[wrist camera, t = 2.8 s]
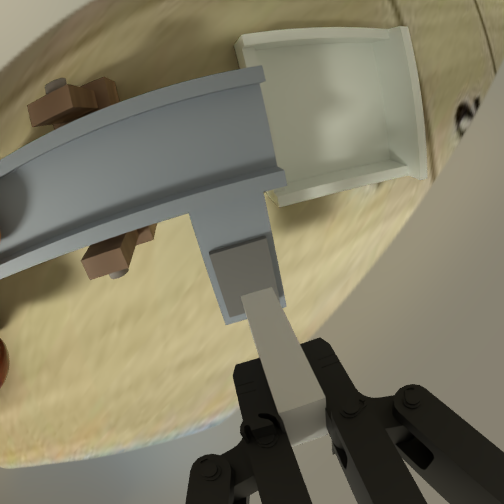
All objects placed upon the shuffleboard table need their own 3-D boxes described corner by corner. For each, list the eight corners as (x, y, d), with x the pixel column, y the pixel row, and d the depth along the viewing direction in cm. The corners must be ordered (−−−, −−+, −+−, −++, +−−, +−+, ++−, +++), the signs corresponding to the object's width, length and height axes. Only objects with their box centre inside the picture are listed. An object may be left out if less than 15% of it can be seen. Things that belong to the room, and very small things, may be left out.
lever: (43, 360, 19) (33, 387, 16) (-45, 194, 12) (-71, 209, 9) (296, 293, 20) (312, 320, 18) (252, 71, 14) (266, 62, 11)
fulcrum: (37, 268, 21) (0, 321, 14) (-11, 142, 16) (-69, 161, 9) (157, 226, 22) (148, 276, 15) (113, 78, 17) (79, 62, 10)
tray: (267, 195, 23) (286, 214, 19) (233, 44, 17) (246, 28, 14) (393, 165, 24) (427, 178, 20) (374, 35, 19) (408, 26, 15)
